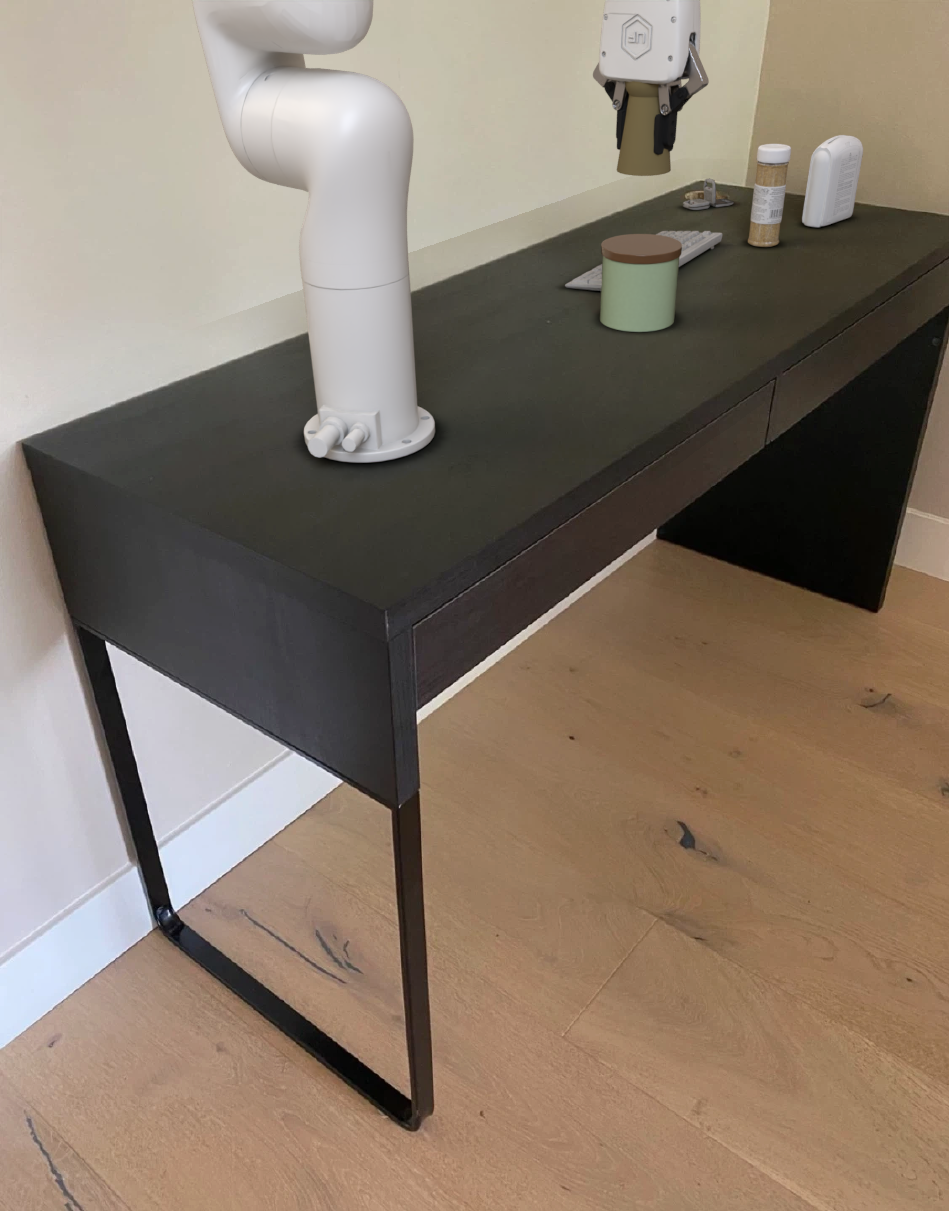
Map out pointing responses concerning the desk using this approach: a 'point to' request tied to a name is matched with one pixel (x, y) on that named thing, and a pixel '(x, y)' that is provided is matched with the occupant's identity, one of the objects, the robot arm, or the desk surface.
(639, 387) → the desk surface
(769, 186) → the sprinkles bottle
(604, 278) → the canister
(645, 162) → the brown tapered tall piece
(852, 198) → the white plastic container
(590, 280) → the keyboard
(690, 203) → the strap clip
